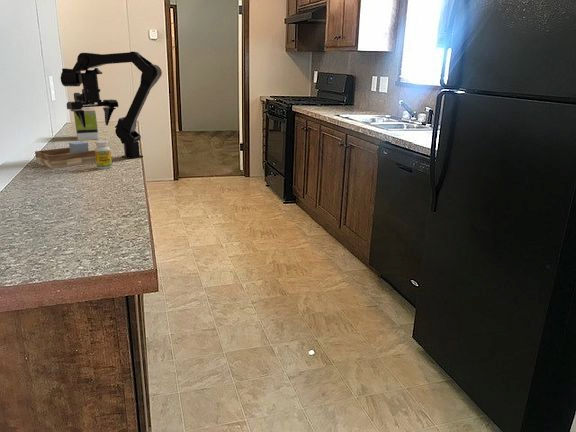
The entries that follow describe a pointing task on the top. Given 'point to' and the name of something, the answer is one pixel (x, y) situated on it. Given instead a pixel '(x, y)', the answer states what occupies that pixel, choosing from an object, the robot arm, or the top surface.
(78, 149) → the block
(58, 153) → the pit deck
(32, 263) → the top surface
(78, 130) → the tea box
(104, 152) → the supplement bottle
